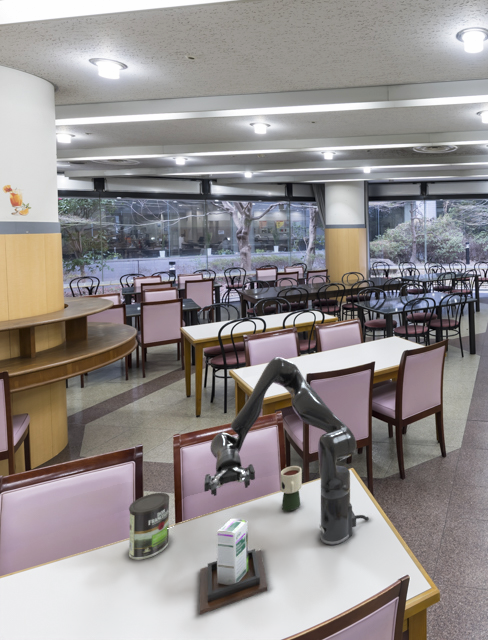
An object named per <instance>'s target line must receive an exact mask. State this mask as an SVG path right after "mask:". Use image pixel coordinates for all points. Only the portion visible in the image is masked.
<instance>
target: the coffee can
mask: <svg viewBox="0 0 488 640" xmlns="http://www.w3.org/2000/svg"><path fill="white" fill-rule="evenodd" d="M128 512H129V538H128V539H129V543H128V544H129V547H128V549H129V550H128V556H129V558H130V559H132V560H136V561H138V560H139V561H140V560H145V559H149V558H152V557H154V556H156V555H158V554H160V553H161V552H163V551H164V550H165V549H166V548H167V547H168V546H169V542H170V541H169V533H170V532H169V529H167V528H170V527H169V526H170V524H169V522H170V521H169V520H170V519H169V517H170V516H169V515H170V514H169V513H170V495H169V494H168V493H166V492H155V493H150V494H146V495H143V496H141V497H139V498H137V499H135V500H134V501H133V502H132V503H131V504H129V507H128Z"/></svg>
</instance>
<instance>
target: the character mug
mask: <svg viewBox="0 0 488 640" xmlns="http://www.w3.org/2000/svg"><path fill="white" fill-rule="evenodd" d="M302 470H303V469H302V467H301V466H298V465H292V466H290V465H289V466H287V467H285V468H283V469H281V471H280V492H281V493H283V495H282V501H281V510H282V511H284V512H290V511H291V512H292V511H294V510H296V509H298V508H300V506H301V497H300V490H301V489H302V487H303V486H302V485H303V484H302V483H303V482H302V481H303V480H302V479H303V471H302Z"/></svg>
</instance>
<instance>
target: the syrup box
mask: <svg viewBox="0 0 488 640" xmlns="http://www.w3.org/2000/svg"><path fill="white" fill-rule="evenodd" d="M248 522H249V521H248V520H247V519H242V518H230V519H228V520H227V522H225V523H224V524H223V525H222V526H221V527H220V528H219V529H218V530H217V531H216V561H217V582H218V583H219V584H224V585H231V584H234V583H237V582H239V581H240V580H241V579H242V578H243V576H244V575H245V574H246V573H247V572H248V551H249V523H248Z"/></svg>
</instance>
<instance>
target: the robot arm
mask: <svg viewBox="0 0 488 640" xmlns="http://www.w3.org/2000/svg"><path fill="white" fill-rule="evenodd" d="M273 384H276V385H279V386H281V387H283V388H284V389H285V390H286V391H287V392H288V393H289V394H290V396H291V407H292V410H293V411H294V413H295V414H296V415H297V416H298V418H299V419H300V420H301V421H302V422H303V423H305V424H307V425H309V426H311V427H314V428H317V429H320V430H321V431H324V432H325V433H323V434H321V435H320V436H319V439H318V443H317V456H318V472H319V478H320V523H319V529H320V533H319V534H320V536H319V537H320V540H321V542H322V543H323V544H325V545H330V546H333V545H339V544H341V543H343V542H345V541H346V540H348V539H349V538H350V537H352V536H353V528H355V527H357V520H358V519H363V520H364V521H368V520H369V516H366V515H364V514H358V515H355V513H354V511H353V506H352V503H351V472H350V470H349V469H348V467H345V466H344V465H337V463H338V462H340V461H342V460H344V459H345V460H346V459H348V458H349V457H351V456H352V455H354V454H355V452H356V450H357V445H358V444H357V440H356V437H355V435H354V433H353V432H352V430H351V429H350V428H349V427H348V426H347V425H346V424H345V423H344V422H343V421H342V420H341V419H340V418H339V417H338V416H337V415H335V414H334V412H333V411H332V410H331V409H330V408H329V407H328V406H327V404H326V403H325V402H324V400H323V399H322V398H321V397H320V395H319V394H318V393H317V391H315V390H314V388H313V387H312V386H311V385H310V384H309V382H307V381H306V379H305V378H304V376H303V374H302V372H301V371H300V370H299V368H298V366H297V365H296V364H295V363H293V362H292V361H289V360H287V359H285V358H283V357H280V356H278V357H273V358H272V359H271V360H270V361H269V362H268V363H267V365H266V366H265V368H264V370H263V371H262V373H261V375H260V377H259V379H257V382H256V384H255V386H254V388H253V390H252V392H251V394H250V395H249V397H248V398H247V400H246V402H245V404H244V405H243V407H242V408H241V409H240V410H239V412H238V413H237V414H236V416H235V417H234V418H233V420H232V422H231V423H230V428H231V430H232V431H233V432H234V433H235V434H236V435H237V437H235V436H233V435H231V434H229V433H227V432H219V433H217V434H216V435H215V436H214V437H213V438H212V440H211V443H210V452H211V455H212V456H213V457H214V458H215V459H216V461H215V474H214V475H210V473H207V474H205V477H204V482H203V484H204V486H203V487H204V492H208V491H209V490H210V494H211V496H213V497H215V496H217V493H218V492H217V489H218V488H221V487H223V486H224V485H226V484H228V483H234V482H238V483H244V488H245V489H247V488H249V487H248V486H250V484H251V481H255V480H256V470H255V467H254V464H252V463H251V464H250V463H249V464H248V467H243V466H242V465H243V464H242V460H241V456H240V452H241V450H242V447H243V444H244V442H245V439H246V437H247V435H248V433H249V432H250V430H251V428H252V427H253V426H254V424H255V423H256V422H257V420H258V419H259V418H260V416H261V413H262V410H263V406H264V400H265V396H266V393H267V391H268V390H269V388H270V387H271V386H272V385H273Z"/></svg>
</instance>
